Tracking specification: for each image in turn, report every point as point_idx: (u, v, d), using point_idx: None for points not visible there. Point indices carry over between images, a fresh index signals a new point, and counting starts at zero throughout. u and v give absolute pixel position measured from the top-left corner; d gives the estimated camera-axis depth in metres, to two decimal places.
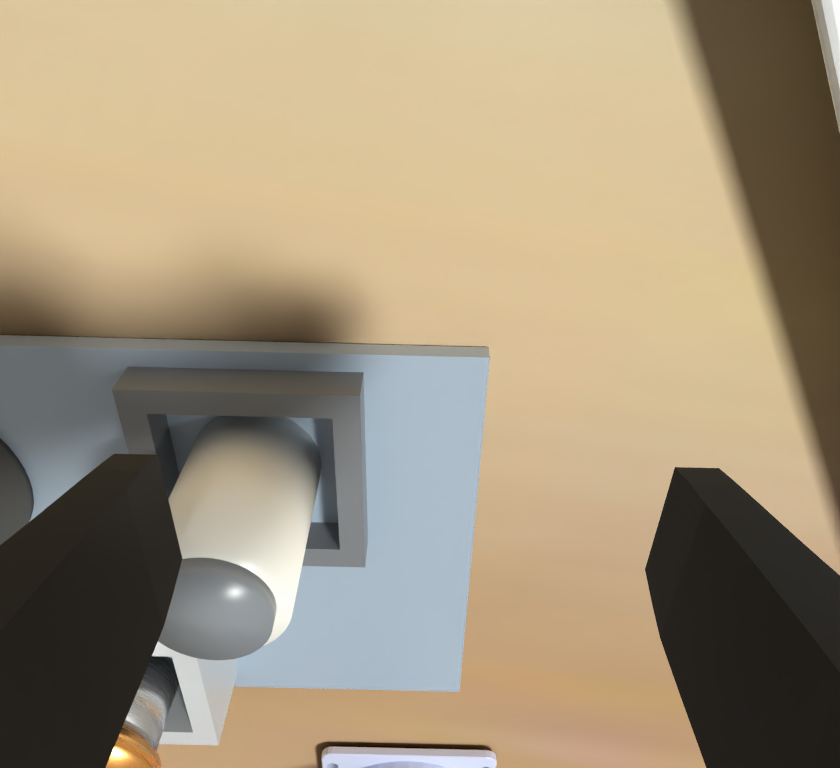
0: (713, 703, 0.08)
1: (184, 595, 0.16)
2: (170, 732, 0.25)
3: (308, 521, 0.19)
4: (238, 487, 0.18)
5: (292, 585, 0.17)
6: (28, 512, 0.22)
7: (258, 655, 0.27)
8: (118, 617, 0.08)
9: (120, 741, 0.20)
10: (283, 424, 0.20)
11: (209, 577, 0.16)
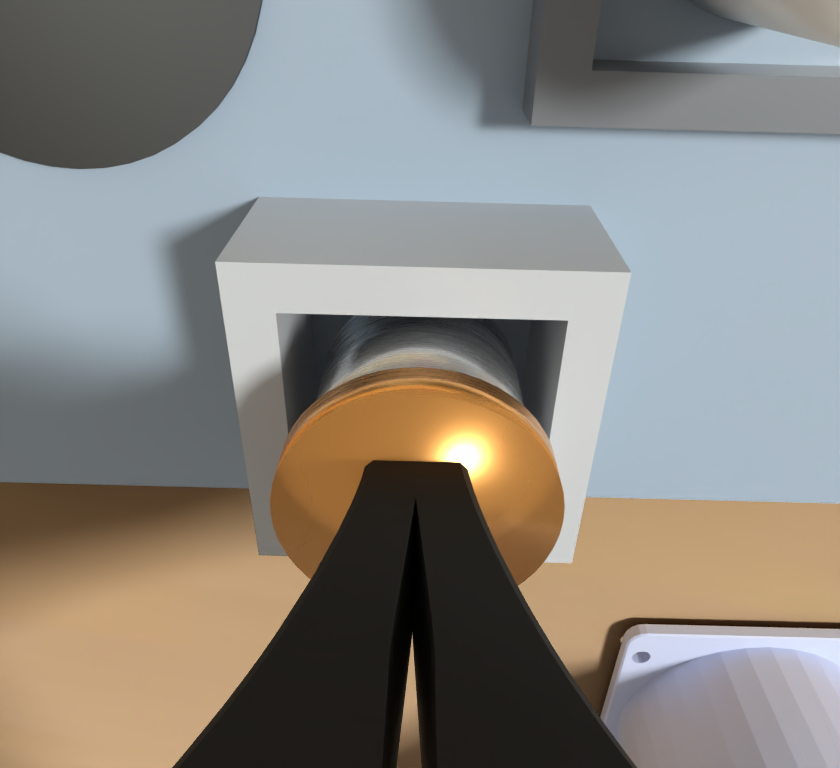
0: (420, 695, 0.08)
1: None
2: None
3: None
4: None
5: None
6: (252, 23, 0.11)
7: None
8: (406, 624, 0.08)
9: (519, 416, 0.09)
10: None
11: None
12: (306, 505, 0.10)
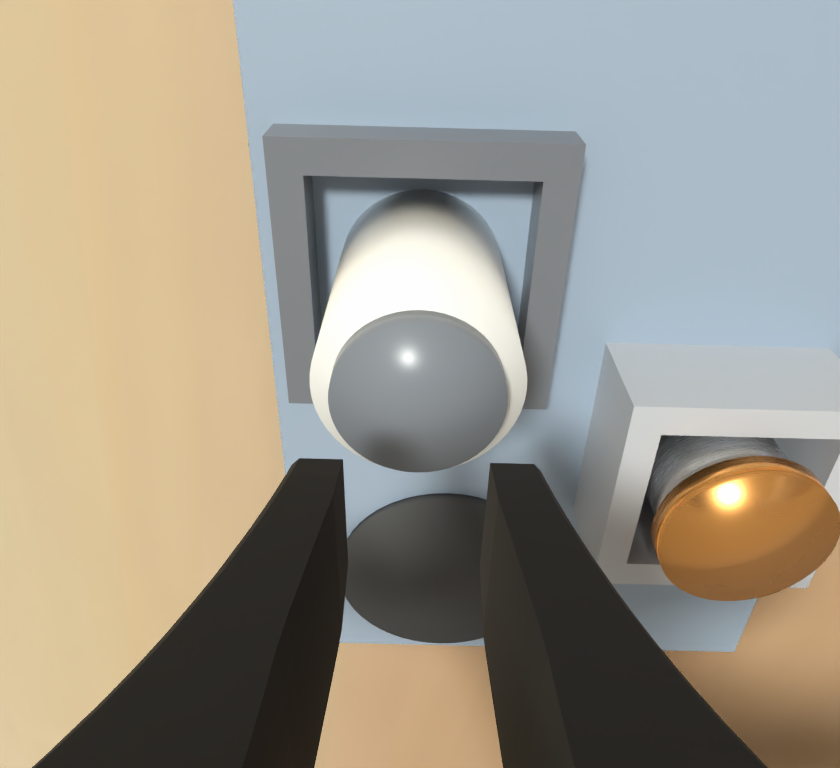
0: (504, 698, 0.08)
1: (370, 419, 0.12)
2: (837, 466, 0.17)
3: (416, 230, 0.14)
4: None
5: (402, 281, 0.12)
6: (485, 506, 0.21)
7: (800, 315, 0.18)
8: (324, 622, 0.08)
9: (691, 489, 0.16)
10: (350, 233, 0.16)
11: (336, 387, 0.12)
12: (723, 586, 0.17)
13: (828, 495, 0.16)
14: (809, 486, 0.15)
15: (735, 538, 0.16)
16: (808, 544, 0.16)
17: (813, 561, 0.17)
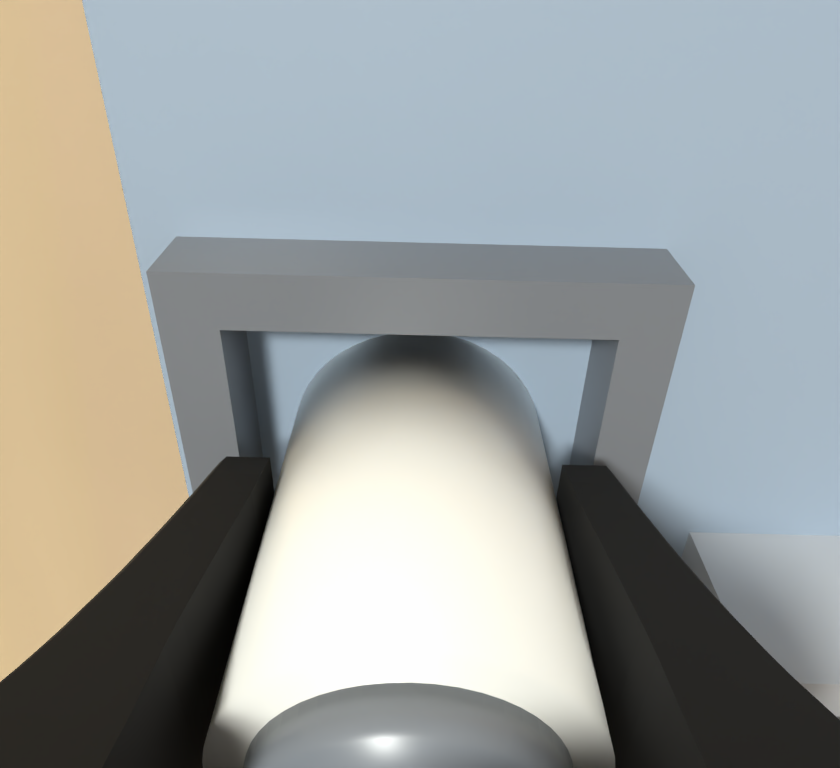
0: None
1: None
2: None
3: (407, 444, 0.08)
4: (249, 582, 0.08)
5: (374, 622, 0.06)
6: None
7: None
8: None
9: None
10: (305, 396, 0.10)
11: None
12: None
13: None
14: None
15: None
16: None
17: None
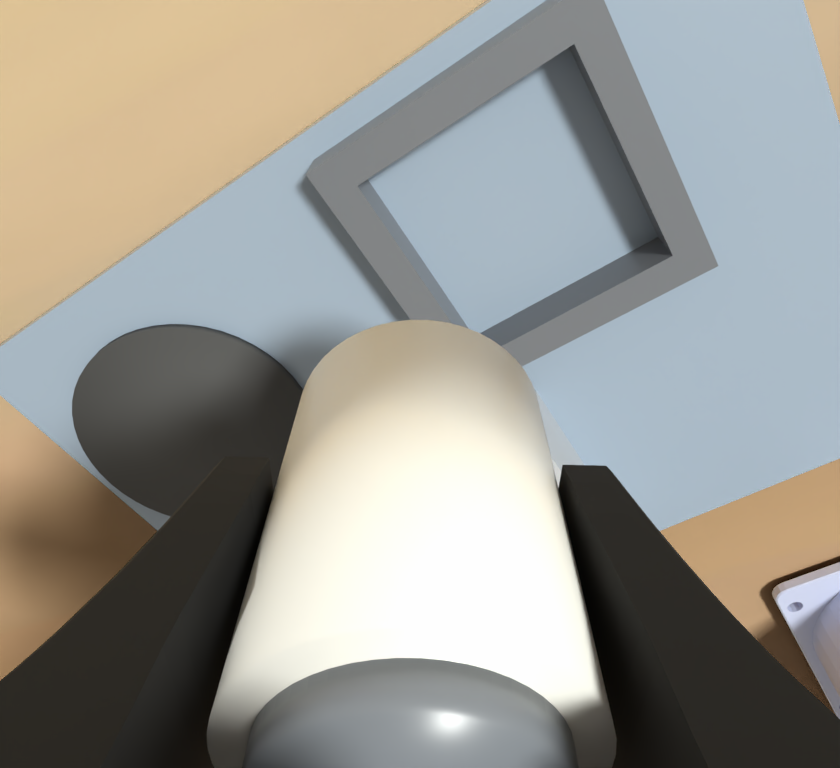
0: None
1: None
2: None
3: (417, 427, 0.08)
4: None
5: (387, 597, 0.06)
6: None
7: (636, 488, 0.21)
8: None
9: None
10: (310, 380, 0.10)
11: None
12: None
13: None
14: None
15: None
16: None
17: None
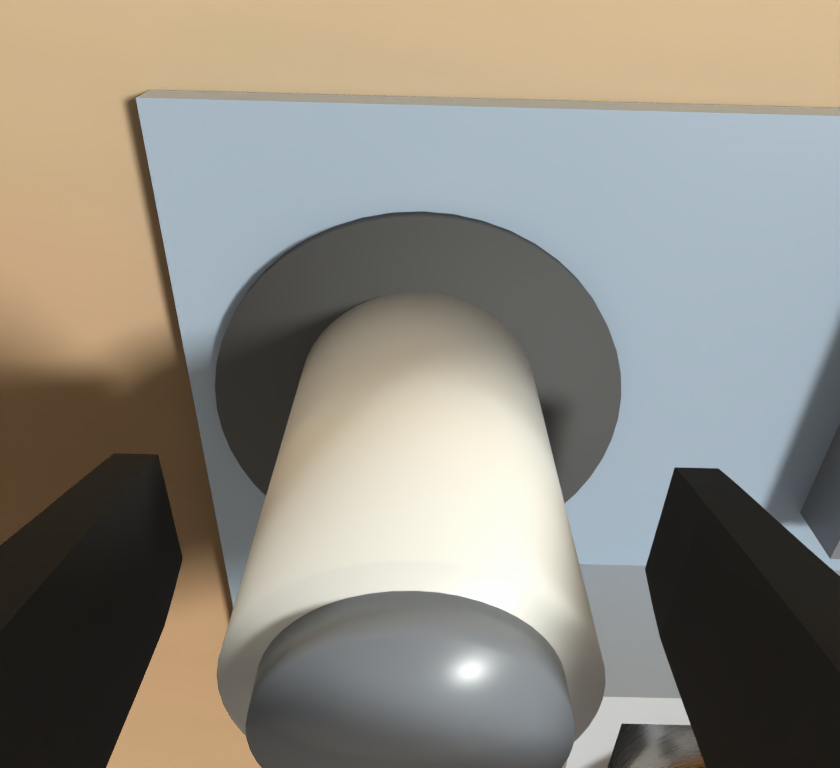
0: (712, 703, 0.08)
1: (320, 754, 0.07)
2: None
3: (431, 388, 0.08)
4: (263, 505, 0.08)
5: (409, 533, 0.06)
6: (593, 469, 0.13)
7: None
8: (118, 617, 0.08)
9: None
10: (318, 343, 0.11)
11: (264, 706, 0.06)
12: None
13: None
14: None
15: None
16: None
17: None
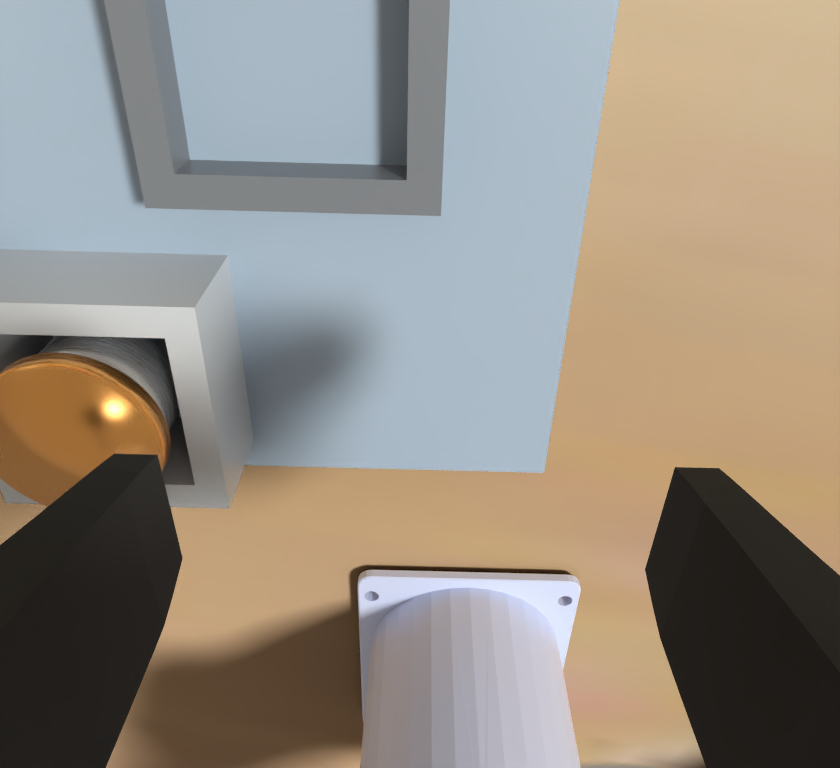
0: (712, 703, 0.08)
1: None
2: None
3: None
4: None
5: None
6: None
7: (281, 411, 0.20)
8: (118, 617, 0.08)
9: (116, 382, 0.15)
10: None
11: None
12: None
13: None
14: None
15: (69, 435, 0.15)
16: None
17: None
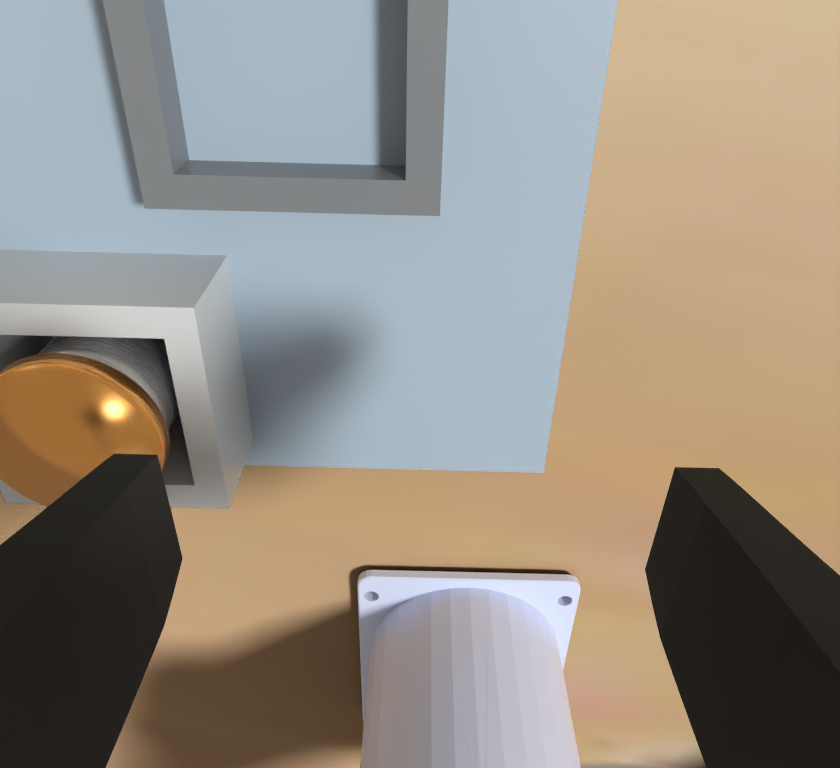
0: (712, 703, 0.08)
1: None
2: None
3: None
4: None
5: None
6: None
7: (281, 412, 0.20)
8: (118, 617, 0.08)
9: (116, 382, 0.15)
10: None
11: None
12: None
13: None
14: None
15: (69, 435, 0.15)
16: None
17: None
